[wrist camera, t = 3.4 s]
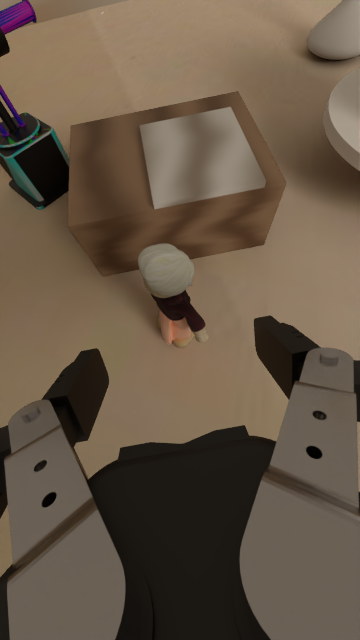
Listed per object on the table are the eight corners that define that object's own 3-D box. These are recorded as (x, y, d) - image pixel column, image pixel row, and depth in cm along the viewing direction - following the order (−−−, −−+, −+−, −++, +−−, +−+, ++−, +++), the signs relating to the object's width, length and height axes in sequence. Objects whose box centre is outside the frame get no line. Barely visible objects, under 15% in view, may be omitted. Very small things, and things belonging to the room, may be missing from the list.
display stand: (102, 276, 28) (63, 221, 20) (98, 187, 34) (68, 119, 26) (263, 244, 28) (289, 176, 20) (230, 161, 34) (238, 84, 26)
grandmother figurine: (141, 323, 25) (89, 244, 13) (165, 299, 26) (135, 205, 14) (195, 369, 23) (189, 321, 11) (219, 340, 23) (237, 267, 12)
